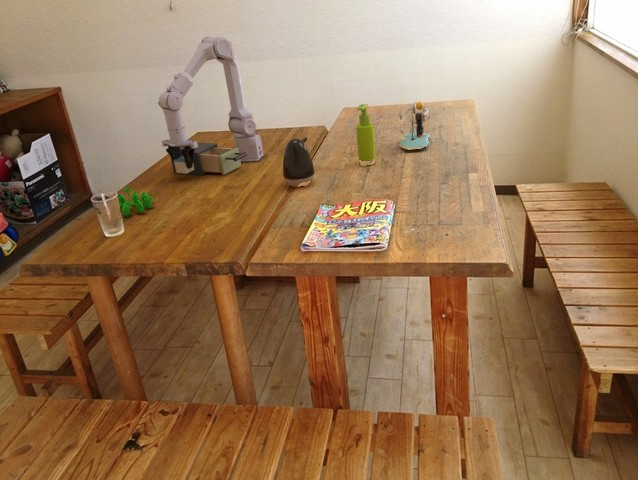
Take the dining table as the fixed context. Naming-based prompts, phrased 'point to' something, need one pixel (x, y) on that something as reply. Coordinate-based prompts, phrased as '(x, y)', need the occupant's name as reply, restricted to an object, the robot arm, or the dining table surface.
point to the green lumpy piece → (135, 202)
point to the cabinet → (197, 158)
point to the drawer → (221, 159)
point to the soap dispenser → (365, 136)
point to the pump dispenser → (297, 163)
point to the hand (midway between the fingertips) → (184, 167)
